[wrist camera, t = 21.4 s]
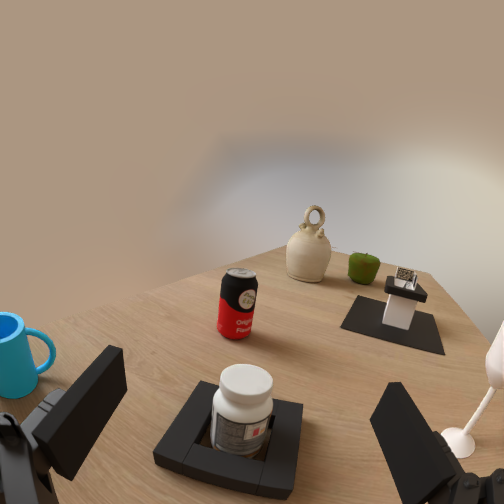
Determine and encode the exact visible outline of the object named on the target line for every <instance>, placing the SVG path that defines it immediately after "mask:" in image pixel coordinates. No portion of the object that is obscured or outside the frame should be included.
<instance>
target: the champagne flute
mask: <svg viewBox="0 0 504 504" xmlns="http://www.w3.org/2000/svg"><path fill="white" fill-rule="evenodd" d="M486 372H487V376H488V380H489V383H490V385H491V387H490V389H489V390H488V392H487V394H486V395H485V397H484V399H483V401H482V402H481V404H480V405H479V407H478V409H477V410H476V412H475V413H474V415H473V416H472V418H471V419H470V421H469V422H468V424H467V425H466V427H465V428H464V429H460V428H454V427H453V428H447V429H445V430H444V431H443V432H442V433H441V435H442V436H443V437H444V439H445V440H446V442H447V443H448V446H449V447H450V448H451V452H453V453H454V455H455V457H456V458H466V457H469V456H470V455H471V454H472V453H473V452H474V450H475V442H474V439H473V438H472V436H471V435H470V434H469V432H470V431H471V430H472V428H473V427H474V425H475V424H476V423H477V421H478V420H479V418H480V417H481V415H482V414H483V412H484V411H485V409H486V407H487V406H488V404H489V403H490V401H491V399H492V398H493V396H494V394H495V393H496V391H497V389H503V388H504V321H503V323H502V325H501V327H500V329H499V332H498V334H497V336H496V338H495V340H494V342H493V344H492V346H491V347H490V349H489V351H488V353H487V355H486Z"/></svg>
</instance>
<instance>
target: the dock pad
mask: <svg viewBox="0 0 504 504" xmlns="http://www.w3.org/2000/svg"><path fill="white" fill-rule="evenodd" d="M219 388H220V387H219V386H218V385H215V384H211V383H208V382H204V381H200V382H199V383H198V385H197V386H196V388H195V389H194V391H193V392H192V394H191V396H190V397H189V399H188V400H187V402H186V403H185V405H184V406H183V408H182V409H181V411H180V412H179V414H178V415H177V417H176V418H175V420H174V421H173V423H172V424H171V426H170V427H169V428H168V430H167V431H166V433H165V434H164V436H163V437H162V439H161V440H160V442H159V443H158V445H157V446H156V448H155V449H154V450H153V455H154V460H155V464H157V465H159V466H161V467H164V468H166V469H169V470H171V471H174V472H177V473H179V474H182V475H185V476H188V477H190V478H193V479H196V480H199V481H203V482H206V483H209V484H212V485H216V486H219V487H223V488H227V489H231V490H235V491H239V492H243V493H248V494H253V495H257V496H263V497H268V498H275V499H281V500H287V498H288V497H289V495H290V494H291V492H292V491H293V486H294V479H295V472H296V465H297V458H298V450H299V441H300V432H301V423H302V413H303V404H300V403H294V402H288V401H283V400H278V399H273V398H272V400H273V408H272V413H271V416H270V420H269V424H268V428H270V429H272V430H271V435H270V439H269V443H268V447H267V451H266V455H265V459H264V461H259V460H254V459H249V458H245V457H241V456H237V455H233V454H229V453H225V452H222V451H218V450H215V449H211V448H208V447H205V446H202V445H199V444H200V442H201V440H202V438H203V436H204V434H205V432H206V430H207V428H208V426H209V424H210V422H211V420H212V406H213V397H214V395H215V393H216V391H217V390H218V389H219Z"/></svg>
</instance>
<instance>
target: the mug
mask: <svg viewBox="0 0 504 504" xmlns="http://www.w3.org/2000/svg"><path fill="white" fill-rule="evenodd" d="M27 335H32V336H35V337H38V338H40V339H41V340H43V341H44V342H45V343H46V344H47V345H48V347H49V349H50V355H49V358H48V360H47V361H46V362H45V363H44V364H43V365H41V366H39V367H37V368H35V365H34V361H33V358H32V354H31V351H30V347H29V343H28V339H27ZM55 358H56V348H55V346H54V344H53V341H52V340H51V339H50V338H49V337H48V336H47V335H46V334H44V333H42V332H41V331H39V330H35V329H32V328H25V326H24V322H23V320H22V318H21V317H20V316H18V315H16V314H13V313H9V312H0V396H2V397H5V398H8V399H17V398H21V397H24V396H26V395H28V394H29V393H31V392H32V391H33V390H34V389H35V387H36V385H37V383H38V374H41V373H43V372H45V371H46V370H48V369H49V368H50V367H51V366H52V365H53V363H54V360H55Z"/></svg>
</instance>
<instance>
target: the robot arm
mask: <svg viewBox="0 0 504 504" xmlns="http://www.w3.org/2000/svg"><path fill="white" fill-rule="evenodd" d="M126 392H127V383H126V376H125V368H124V359H123V349H122V348H118V347H115V346H112V345H108V346H107V347H106V349H105V350H104V351H103V352H102V353H101V354H100V355H99V356H98V357H97V358H96V359H95V360H94V361H93V363H92V364H91V365H90V366H89V367H88V368H87V369H86V370H85V371H84V372H83V373H82V375H81V376H80V377H79V378H78V379H77V380H76V381H75V382H74V384H73V385H72V386H71V387H70V388H69V389H68V390H67V391H64V390H62V389H60V388H58V389H56V390H54V391H52V392H50V393H49V394H48V395H47V396H46V397H45V398H44V399H43V401H41V402H40V403H39V405H38V407H36V408H35V409H34V410H33V411H32V412H31V413H30V414H29V416H28V417H27V418H26V419H25V420H24V421H23V422H22V423H21V425H19V423H18V421H17V419H16V418H15V417H14V416H13V415H12V414H10V413H7V412H0V504H59V502H58V499H57V496H56V493H55V489H54V486H53V482H52V479H51V475H50V473H49V469H50V468H51V466H52V467H53V469H54V470H55V472H56V473H57V474H59V475H61V476H63V477H64V478H66V479H68V480H70V481H72V480H73V479H74V477H75V475H76V474H77V472H78V470H79V468H80V467H81V465H82V463H83V462H84V460H85V458H86V457H87V455H88V453H89V452H90V450H91V448H92V447H93V445H94V443H95V442H96V440H97V438H98V437H99V435H100V433H101V432H102V430H103V429H104V427H105V425H106V424H107V422H108V420H109V419H110V417H111V416H112V414H113V412H114V411H115V409H116V408H117V406H118V404H119V403H120V401H121V400H122V398H123V397H124V395H125V393H126ZM370 422H371V424H372V427H373V429H374V432H375V434H376V436H377V439H378V441H379V444H380V446H381V449H382V451H383V454H384V456H385V459H386V461H387V464H388V466H389V469H390V471H391V474H392V477H393V479H394V482H395V485H396V487H397V490H398V493H399V495H400V498H401V501H402V503H403V504H425V503H426V502H427V501H428V504H504V469H501V468H499V469H496V470H495V471H494V472H493V473H492V474H491V475H490V476H488V477H481V478H479V477H478V476H477V475H476V474H474V473H465V472H464V470H463V468H462V467H461V465H460V463H459V462H458V460H457V458H456V457H455V455H454V453H453V452H451V448H450V447H449V446H448V443H447V442H446V440H445V439H444V437H443V436H442V435H441V434H439V433H438V432H437V431H435V432H432V430H431V429H430V427H429V426H428V424H427V422H426V421H425V419H424V417H423V416H422V414H421V413H420V411H419V410H418V408H417V406H416V405H415V403H414V402H413V400H412V399H411V397H410V395H409V394H408V392H407V391H406V389H405V388H404V386H403V385H402V383H401V382H391V383H388V385H387V387H386V389H385V391H384V393H383V395H382V397H381V399H380V401H379V403H378V405H377V407H376V409H375V411H374V413H373V414H372V416H371V418H370Z"/></svg>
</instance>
